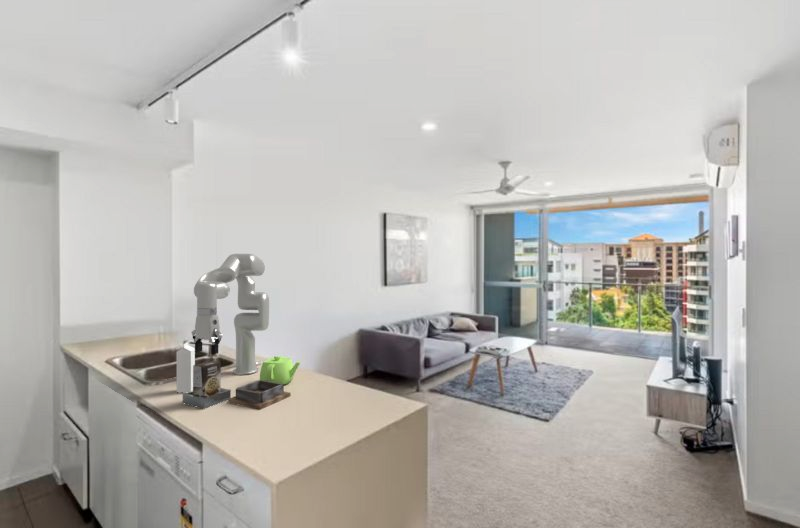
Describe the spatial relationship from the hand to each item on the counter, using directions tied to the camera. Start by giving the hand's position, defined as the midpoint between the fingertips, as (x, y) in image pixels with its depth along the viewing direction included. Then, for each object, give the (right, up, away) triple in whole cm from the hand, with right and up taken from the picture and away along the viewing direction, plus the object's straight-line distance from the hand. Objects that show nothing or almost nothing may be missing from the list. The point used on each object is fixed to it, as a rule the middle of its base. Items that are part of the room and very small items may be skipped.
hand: (206, 352), depth 170 cm
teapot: (+24, -21, +27) cm, 42 cm away
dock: (+21, -21, +4) cm, 30 cm away
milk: (-16, -21, +14) cm, 30 cm away
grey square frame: (0, -21, +1) cm, 21 cm away
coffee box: (0, -21, +1) cm, 21 cm away
